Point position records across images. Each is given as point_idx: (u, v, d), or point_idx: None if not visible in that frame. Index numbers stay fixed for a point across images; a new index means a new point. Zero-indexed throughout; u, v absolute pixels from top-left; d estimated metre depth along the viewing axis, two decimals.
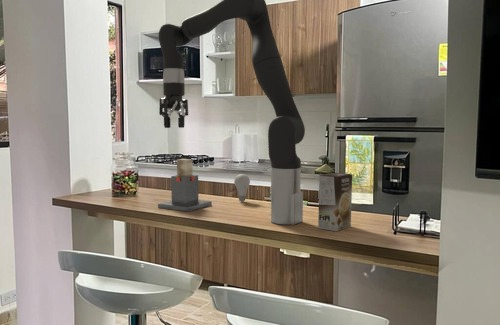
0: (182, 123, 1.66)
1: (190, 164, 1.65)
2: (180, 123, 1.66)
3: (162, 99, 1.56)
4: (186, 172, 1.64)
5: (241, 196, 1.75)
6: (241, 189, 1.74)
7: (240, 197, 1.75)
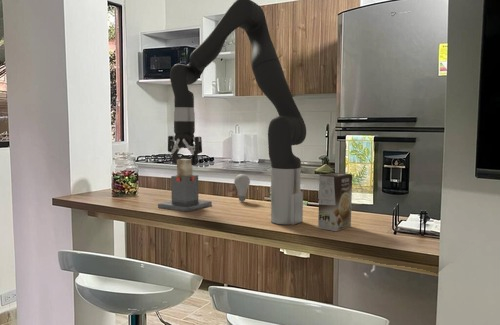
0: (177, 159, 1.68)
1: (190, 164, 1.65)
2: (176, 159, 1.68)
3: (199, 138, 1.61)
4: (186, 172, 1.64)
5: (241, 196, 1.75)
6: (241, 189, 1.74)
7: (240, 197, 1.75)
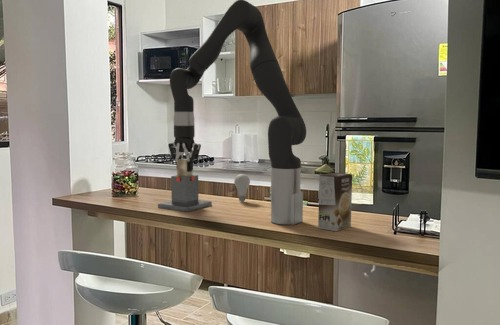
0: None
1: None
2: None
3: (198, 146, 1.62)
4: (186, 173, 1.64)
5: (241, 196, 1.75)
6: (241, 189, 1.74)
7: (240, 197, 1.75)
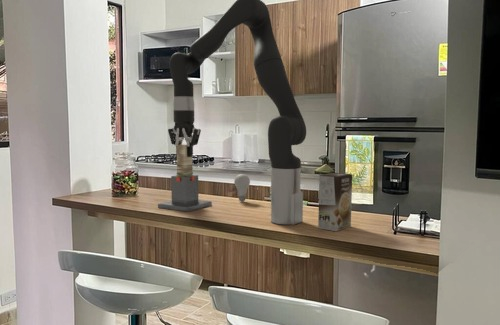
0: None
1: None
2: None
3: (198, 131, 1.61)
4: (186, 158, 1.63)
5: (241, 196, 1.75)
6: (241, 189, 1.74)
7: (240, 197, 1.75)
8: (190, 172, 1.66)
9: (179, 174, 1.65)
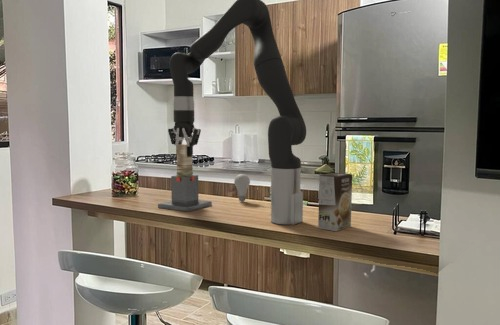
0: None
1: None
2: None
3: (198, 131, 1.61)
4: (186, 158, 1.63)
5: (241, 196, 1.75)
6: (241, 189, 1.74)
7: (240, 197, 1.75)
8: (190, 172, 1.66)
9: (179, 174, 1.65)
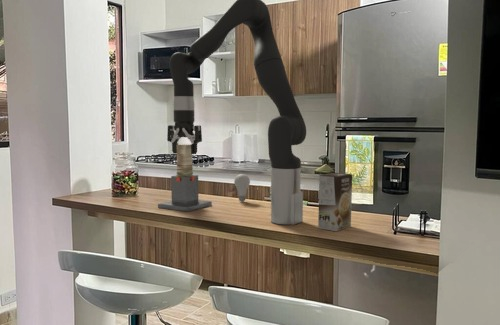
0: None
1: (190, 149, 1.65)
2: (176, 149, 1.67)
3: (199, 127, 1.61)
4: (186, 158, 1.63)
5: (241, 196, 1.75)
6: (241, 189, 1.74)
7: (240, 197, 1.75)
8: (190, 172, 1.66)
9: (179, 174, 1.65)
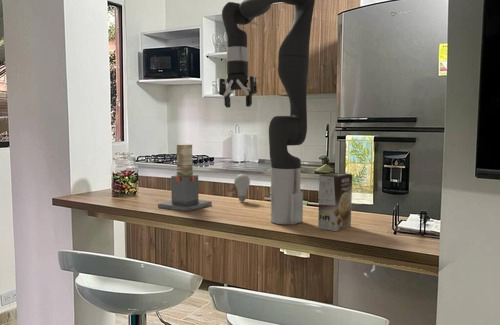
0: (229, 103, 1.63)
1: (190, 149, 1.65)
2: (228, 103, 1.63)
3: (254, 77, 1.57)
4: (186, 158, 1.63)
5: (241, 196, 1.75)
6: (241, 189, 1.74)
7: (240, 197, 1.75)
8: (190, 172, 1.66)
9: (179, 174, 1.65)
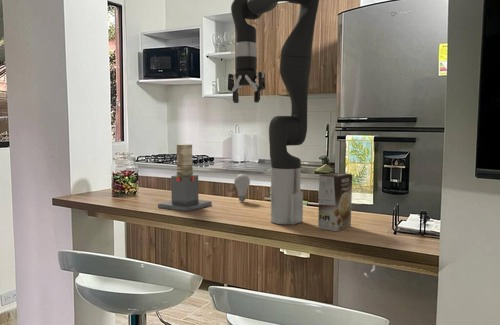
0: (237, 98, 1.63)
1: (190, 149, 1.65)
2: (236, 98, 1.62)
3: (262, 73, 1.56)
4: (186, 158, 1.63)
5: (241, 196, 1.75)
6: (241, 189, 1.74)
7: (240, 197, 1.75)
8: (190, 172, 1.66)
9: (179, 174, 1.65)
